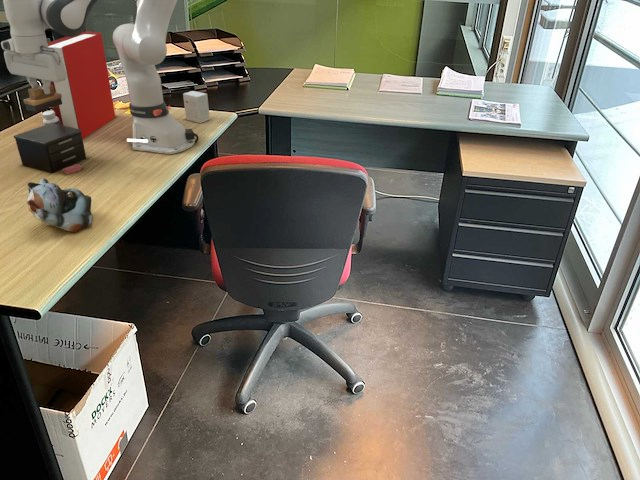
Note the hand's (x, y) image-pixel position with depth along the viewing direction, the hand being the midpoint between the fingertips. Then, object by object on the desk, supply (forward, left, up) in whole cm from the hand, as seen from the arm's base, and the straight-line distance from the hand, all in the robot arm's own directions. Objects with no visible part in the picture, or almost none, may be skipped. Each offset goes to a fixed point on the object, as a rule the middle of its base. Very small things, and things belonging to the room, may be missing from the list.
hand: (41, 92), depth 161 cm
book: (+19, -32, -24) cm, 44 cm away
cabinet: (+3, -1, -23) cm, 24 cm away
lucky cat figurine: (-33, +27, -24) cm, 48 cm away
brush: (0, 0, -4) cm, 4 cm away
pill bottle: (+19, -17, -23) cm, 35 cm away
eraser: (-8, +1, -23) cm, 25 cm away
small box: (-11, -59, -24) cm, 65 cm away
